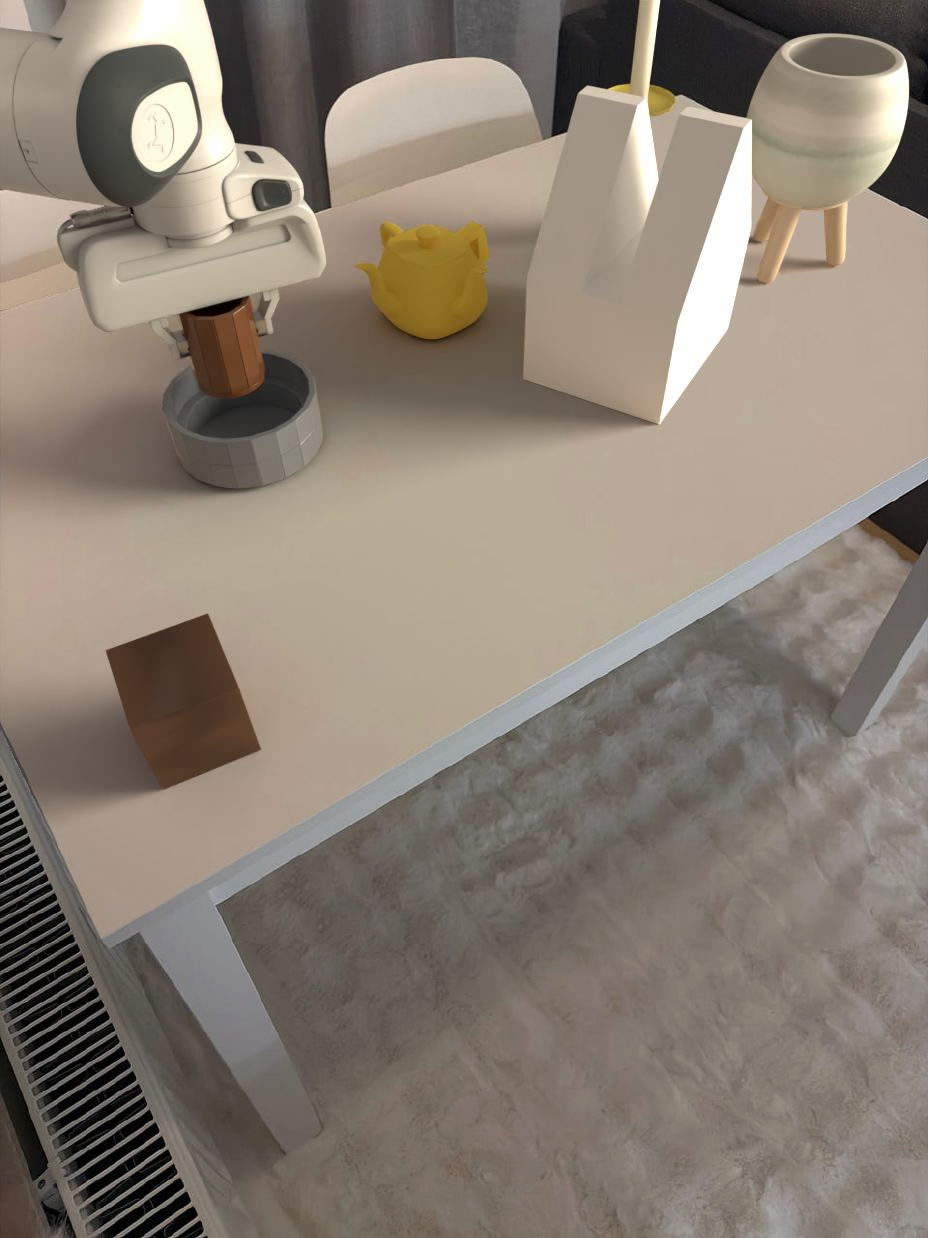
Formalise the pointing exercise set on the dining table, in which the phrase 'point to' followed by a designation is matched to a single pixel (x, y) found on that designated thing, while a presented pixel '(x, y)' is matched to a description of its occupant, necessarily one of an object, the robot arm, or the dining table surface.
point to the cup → (224, 348)
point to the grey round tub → (246, 426)
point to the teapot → (430, 278)
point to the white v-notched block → (637, 254)
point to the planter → (823, 134)
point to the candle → (646, 62)
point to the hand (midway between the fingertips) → (223, 343)
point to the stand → (182, 701)
